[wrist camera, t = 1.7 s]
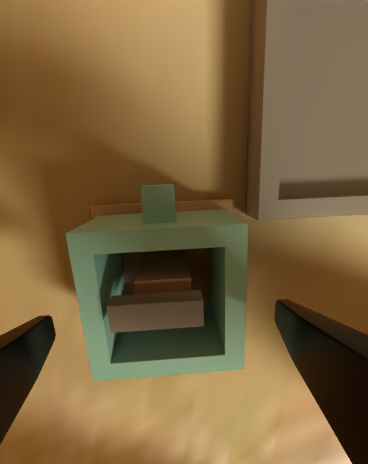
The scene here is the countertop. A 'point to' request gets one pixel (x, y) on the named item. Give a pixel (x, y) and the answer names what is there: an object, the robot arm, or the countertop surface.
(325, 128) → the tray
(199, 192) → the countertop surface
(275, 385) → the countertop surface
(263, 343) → the countertop surface
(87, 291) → the ring
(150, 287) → the brown peg stand
